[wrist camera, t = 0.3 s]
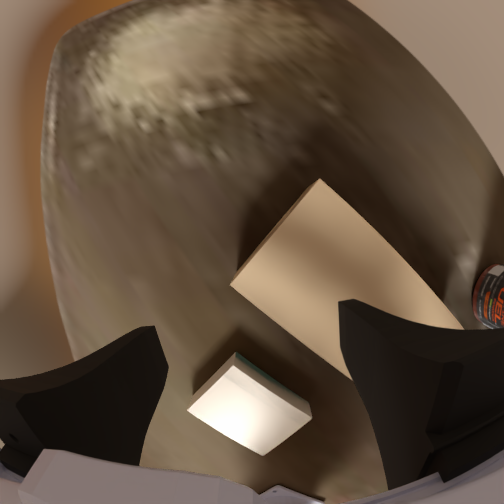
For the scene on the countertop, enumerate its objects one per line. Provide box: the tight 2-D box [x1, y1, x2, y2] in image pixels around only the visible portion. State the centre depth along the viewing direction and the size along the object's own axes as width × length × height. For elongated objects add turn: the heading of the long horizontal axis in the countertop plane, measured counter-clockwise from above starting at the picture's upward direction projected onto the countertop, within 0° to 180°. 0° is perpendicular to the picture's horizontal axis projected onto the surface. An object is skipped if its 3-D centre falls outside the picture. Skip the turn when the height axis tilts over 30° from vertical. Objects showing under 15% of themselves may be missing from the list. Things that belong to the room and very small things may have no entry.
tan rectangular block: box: [230, 179, 464, 380], centre depth 19 cm, size 8×16×4 cm, turn 50°
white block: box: [187, 352, 312, 456], centre depth 21 cm, size 6×8×2 cm
